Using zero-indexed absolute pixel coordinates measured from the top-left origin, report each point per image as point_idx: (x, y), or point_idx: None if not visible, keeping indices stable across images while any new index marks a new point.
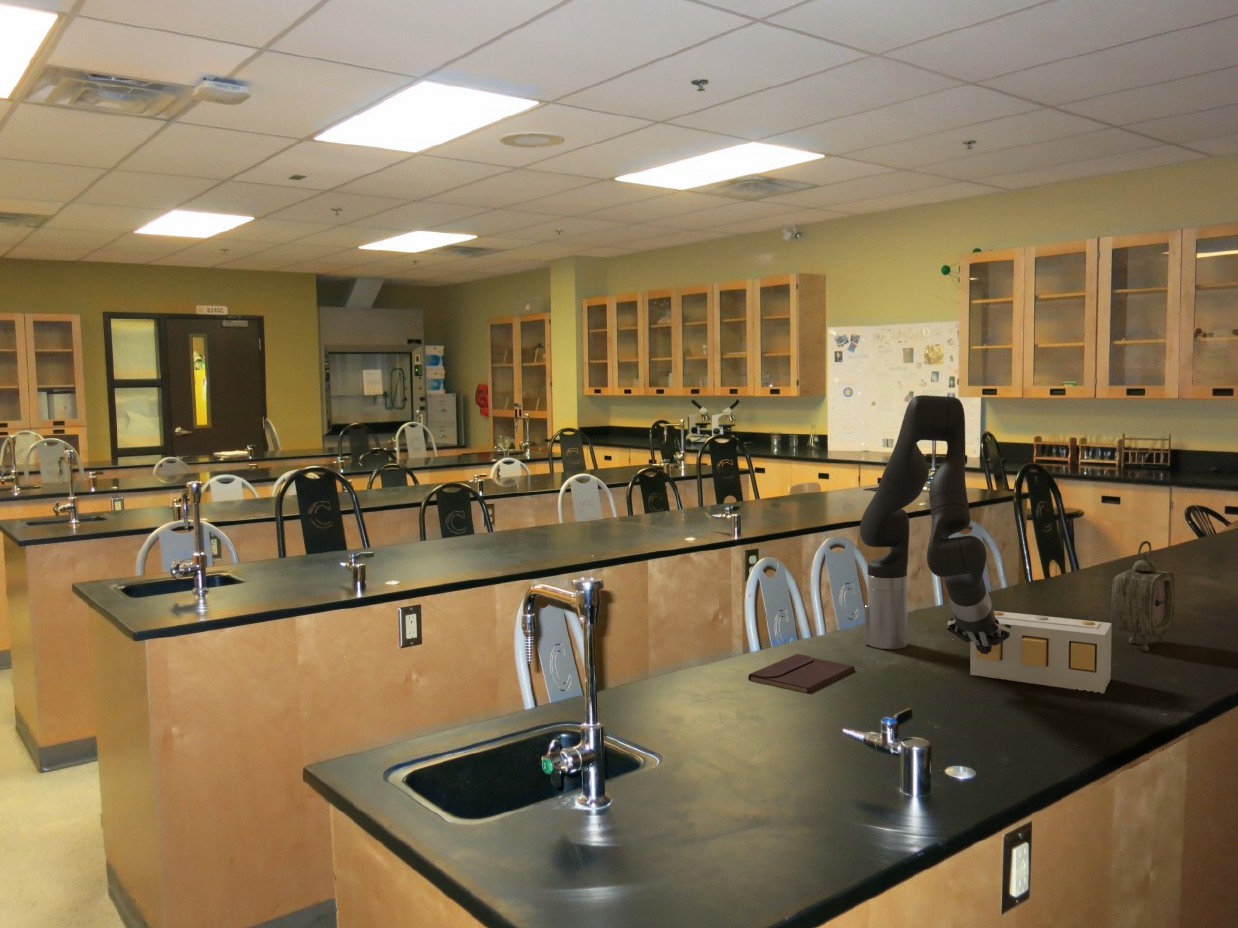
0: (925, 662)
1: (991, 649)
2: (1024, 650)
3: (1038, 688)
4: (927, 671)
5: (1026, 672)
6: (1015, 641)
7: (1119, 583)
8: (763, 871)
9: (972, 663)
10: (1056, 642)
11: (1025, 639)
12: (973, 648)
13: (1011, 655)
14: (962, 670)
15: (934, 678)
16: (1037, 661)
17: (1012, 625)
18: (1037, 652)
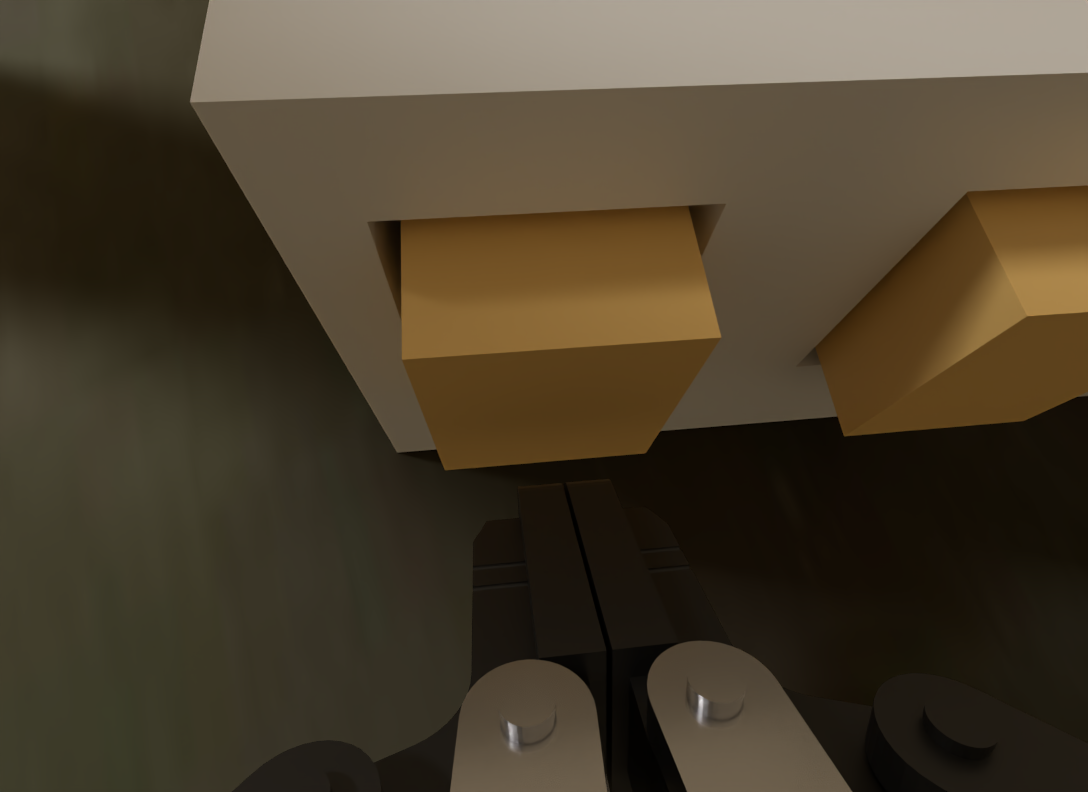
0: (42, 341)
1: (593, 419)
2: (952, 380)
3: (886, 506)
4: (74, 551)
5: (800, 395)
6: (837, 256)
7: None
8: None
9: (397, 421)
10: None
11: (1051, 292)
12: (375, 359)
13: (735, 347)
14: (324, 385)
15: (153, 721)
16: (998, 409)
17: (926, 88)
18: (1076, 373)
